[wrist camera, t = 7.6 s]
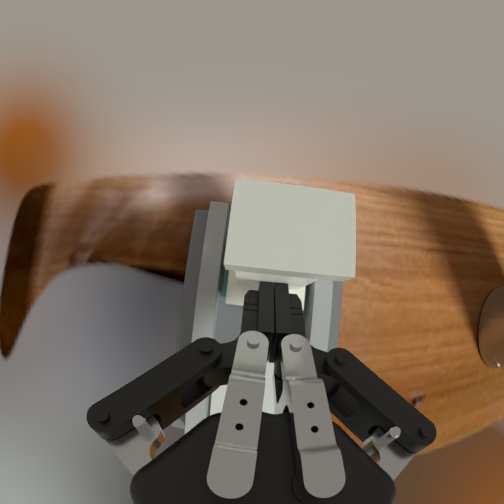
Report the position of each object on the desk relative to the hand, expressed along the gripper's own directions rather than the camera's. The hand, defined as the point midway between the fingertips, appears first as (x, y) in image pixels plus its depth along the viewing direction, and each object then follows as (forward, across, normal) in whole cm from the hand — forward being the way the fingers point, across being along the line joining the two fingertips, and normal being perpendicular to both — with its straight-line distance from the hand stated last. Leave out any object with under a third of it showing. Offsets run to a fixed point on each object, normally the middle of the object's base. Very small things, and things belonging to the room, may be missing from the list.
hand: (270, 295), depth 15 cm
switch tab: (+3, 0, +1) cm, 4 cm away
